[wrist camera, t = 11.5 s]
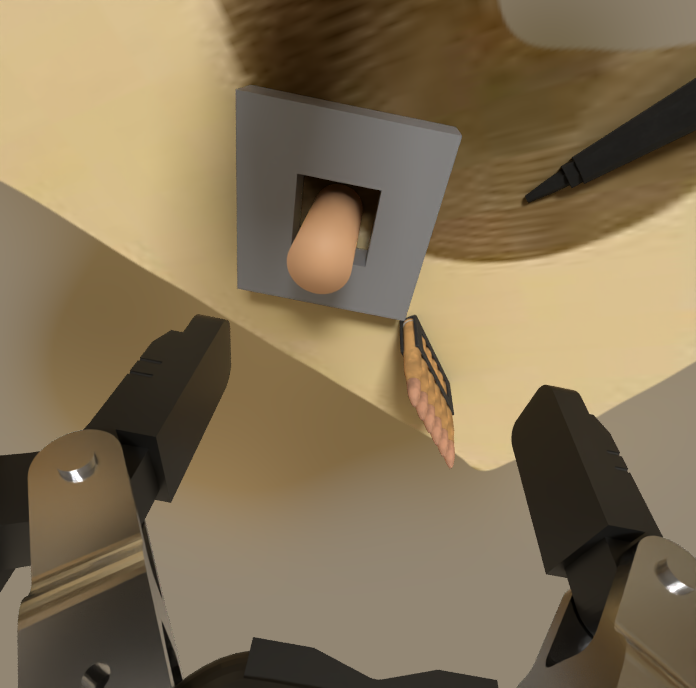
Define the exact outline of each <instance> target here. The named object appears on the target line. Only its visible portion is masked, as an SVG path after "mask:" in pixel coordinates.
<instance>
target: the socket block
mask: <svg viewBox="0 0 696 688" xmlns="http://www.w3.org/2000/svg"><path fill="white" fill-rule="evenodd" d="M461 138H462V135H461V134H460V132H459V131H458V129H457V128H456V127H453V126H448V125H443V124H438V123H433V122H428V121H424V120H419V119H414V118H409V117H404V116H399V115H395V114H390V113H385V112H380V111H375V110H370V109H366V108H361V107H356V106H351V105H346V104H341V103H337V102H332V101H327V100H322V99H317V98H312V97H307V96H303V95H298V94H293V93H288V92H283V91H278V90H274V89H269V88H264V87H259V86H254V85H248V86H245V87H242V88H238V89H236V177H237V286H238V289H242V290H248V291H253V292H258V293H263V294H268V295H273V296H278V297H284V298H289V299H294V300H299V301H304V302H309V303H314V304H319V305H325V306H330V307H335V308H340V309H345V310H350V311H355V312H361V313H366V314H371V315H376V316H381V317H386V318H391V319H397V320H402V321H405V318H406V315H407V312H408V309H409V305H410V302H411V299H412V296H413V293H414V289H415V286H416V283H417V280H418V276H419V273H420V270H421V267H422V263H423V260H424V257H425V254H426V251H427V247H428V244H429V241H430V238H431V234H432V231H433V228H434V225H435V222H436V218H437V215H438V212H439V209H440V205H441V202H442V199H443V196H444V193H445V189H446V186H447V183H448V180H449V176H450V173H451V170H452V167H453V164H454V160H455V157H456V154H457V151H458V147H459V144H460V141H461ZM304 175H307V176H312V177H317V178H322V179H327V180H331V181H336V182H341V183H346V184H351V185H356V186H361V187H366V188H371V189H376V190H380V195H379V199H378V204H377V209H376V213H375V218H374V223H373V228H372V232H371V237H370V242H369V247H368V250H364V249H359V248H356V251H355V256H354V261H353V266H352V271H351V275H350V278H349V280H348V281H347V283H346V284H345V285H344V286H343V287H342V288H341V289H339V290H337V291H335V292H333V293H329V294H315V293H311V292H309V291H306V290H304V289H303V288H301V287H300V286H299V285H297V284H296V282H295V281H294V280H293V279H292V277H291V276H290V274H289V271H288V268H287V255H288V252H289V250H290V248H291V246H292V244H293V242H294V240H295V238H296V236H297V234H298V232H299V227H300V216H301V205H302V195H303V184H304Z"/></svg>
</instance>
